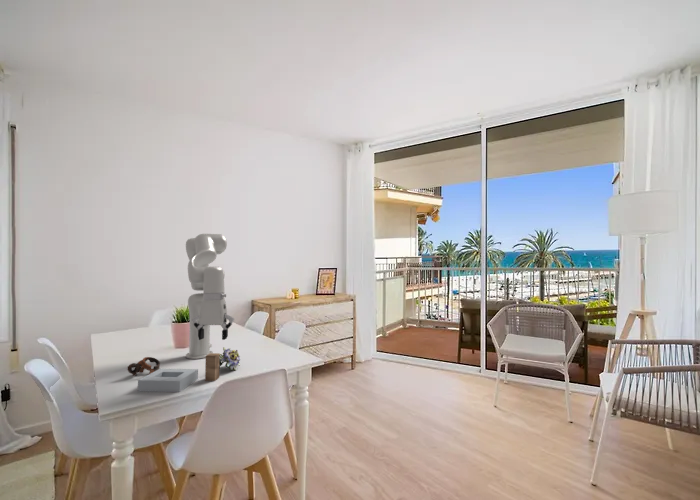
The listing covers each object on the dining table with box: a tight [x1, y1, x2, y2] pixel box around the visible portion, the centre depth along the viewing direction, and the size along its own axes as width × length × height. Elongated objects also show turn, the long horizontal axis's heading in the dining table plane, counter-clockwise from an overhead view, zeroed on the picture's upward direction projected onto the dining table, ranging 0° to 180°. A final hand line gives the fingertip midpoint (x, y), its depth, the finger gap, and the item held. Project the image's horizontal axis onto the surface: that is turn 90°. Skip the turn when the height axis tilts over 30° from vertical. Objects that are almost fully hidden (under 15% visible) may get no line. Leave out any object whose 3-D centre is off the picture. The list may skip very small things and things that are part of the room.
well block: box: [137, 368, 199, 393], centre depth 136 cm, size 14×16×4 cm
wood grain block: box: [204, 352, 220, 382], centre depth 143 cm, size 4×4×10 cm
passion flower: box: [219, 347, 241, 371], centre depth 156 cm, size 11×11×12 cm
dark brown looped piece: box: [127, 356, 161, 377], centre depth 147 cm, size 12×10×8 cm
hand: (212, 339), depth 143 cm, fingers open, 9 cm apart
